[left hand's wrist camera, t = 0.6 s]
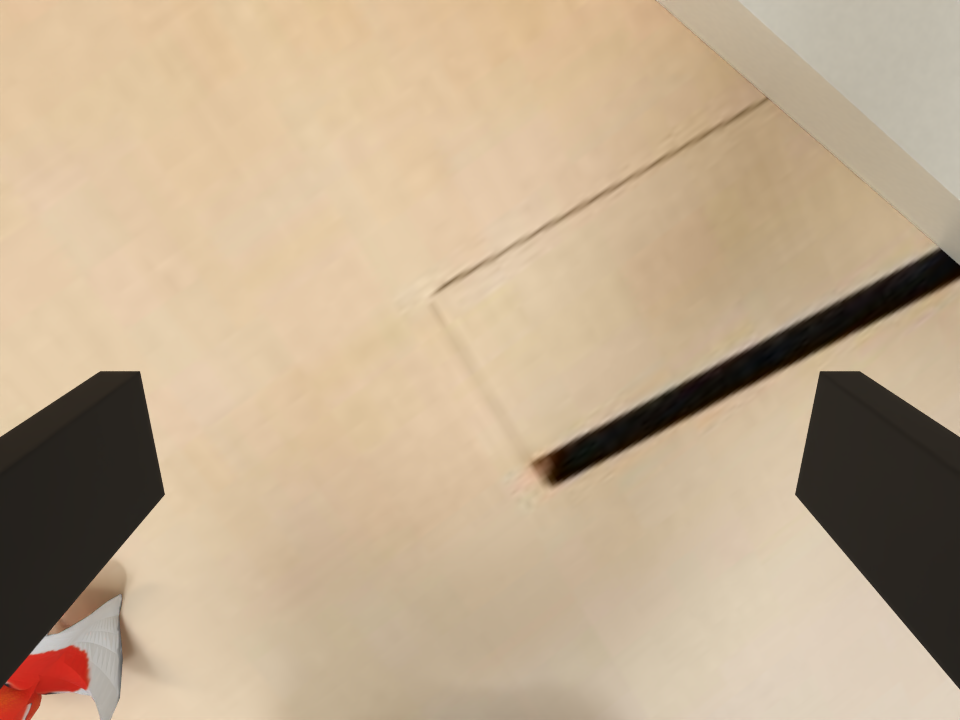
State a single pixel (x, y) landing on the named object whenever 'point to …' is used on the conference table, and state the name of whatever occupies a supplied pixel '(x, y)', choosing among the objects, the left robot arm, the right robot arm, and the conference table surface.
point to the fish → (71, 666)
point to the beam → (858, 88)
